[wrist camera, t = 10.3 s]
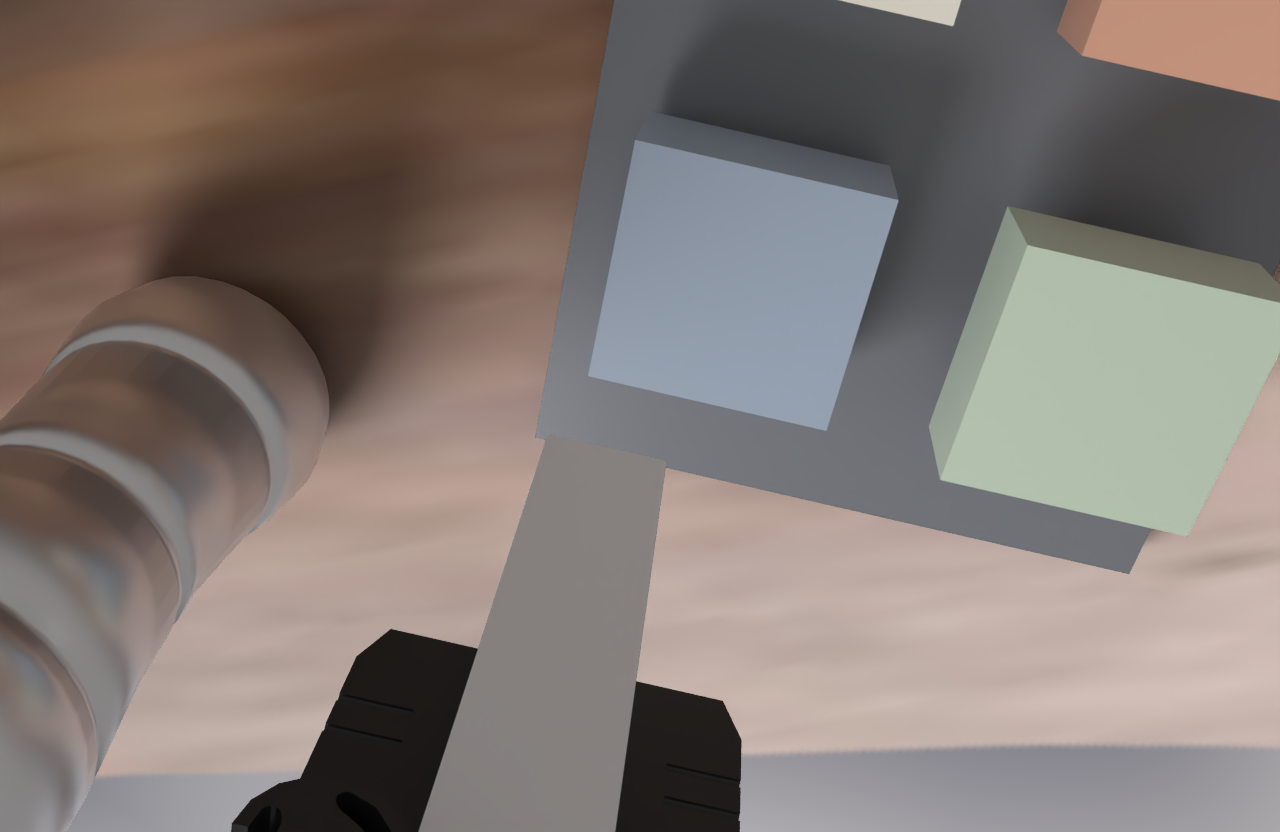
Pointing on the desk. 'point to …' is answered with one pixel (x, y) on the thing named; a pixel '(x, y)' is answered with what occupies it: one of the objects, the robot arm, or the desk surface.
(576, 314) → the keypad
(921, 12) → the key cream
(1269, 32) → the key terracotta
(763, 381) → the key slate
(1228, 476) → the desk surface
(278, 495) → the plastic bottle
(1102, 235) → the key sage
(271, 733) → the desk surface
